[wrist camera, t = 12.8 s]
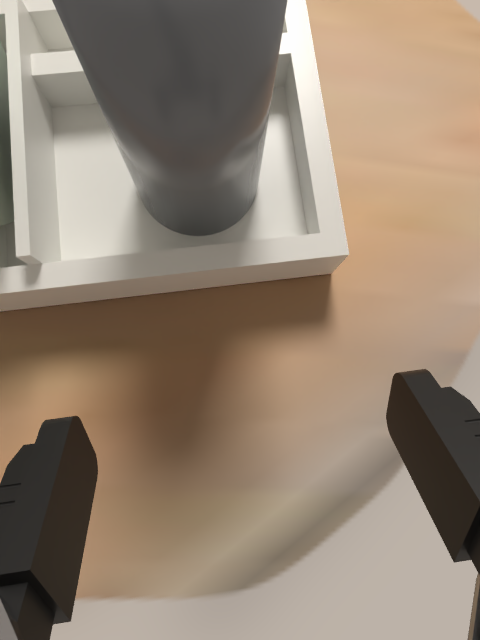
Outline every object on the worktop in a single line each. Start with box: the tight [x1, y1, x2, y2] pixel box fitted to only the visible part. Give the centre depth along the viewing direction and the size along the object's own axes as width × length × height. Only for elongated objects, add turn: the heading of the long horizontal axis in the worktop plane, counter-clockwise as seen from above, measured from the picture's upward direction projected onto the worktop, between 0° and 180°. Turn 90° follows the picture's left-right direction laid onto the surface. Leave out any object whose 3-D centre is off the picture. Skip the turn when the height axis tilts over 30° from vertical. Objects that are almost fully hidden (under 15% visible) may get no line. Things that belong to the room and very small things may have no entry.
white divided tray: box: [0, 0, 349, 312], centre depth 15 cm, size 15×13×10 cm
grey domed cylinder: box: [52, 0, 287, 236], centre depth 14 cm, size 5×5×11 cm
